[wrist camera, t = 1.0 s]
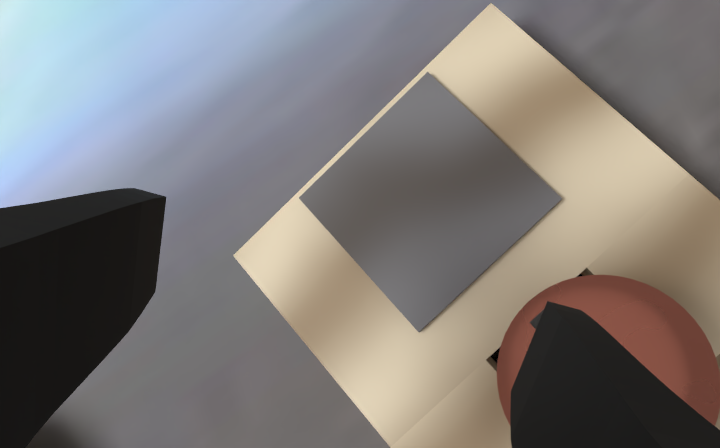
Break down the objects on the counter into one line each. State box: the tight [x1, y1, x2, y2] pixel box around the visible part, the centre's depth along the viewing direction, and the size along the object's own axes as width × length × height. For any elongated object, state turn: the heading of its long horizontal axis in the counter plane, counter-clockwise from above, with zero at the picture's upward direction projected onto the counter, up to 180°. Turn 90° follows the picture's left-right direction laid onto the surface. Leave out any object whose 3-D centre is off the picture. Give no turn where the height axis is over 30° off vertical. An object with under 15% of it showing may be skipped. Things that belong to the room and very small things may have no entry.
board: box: [233, 3, 720, 448], centre depth 22 cm, size 15×13×3 cm
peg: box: [497, 275, 720, 427], centre depth 19 cm, size 5×5×7 cm
